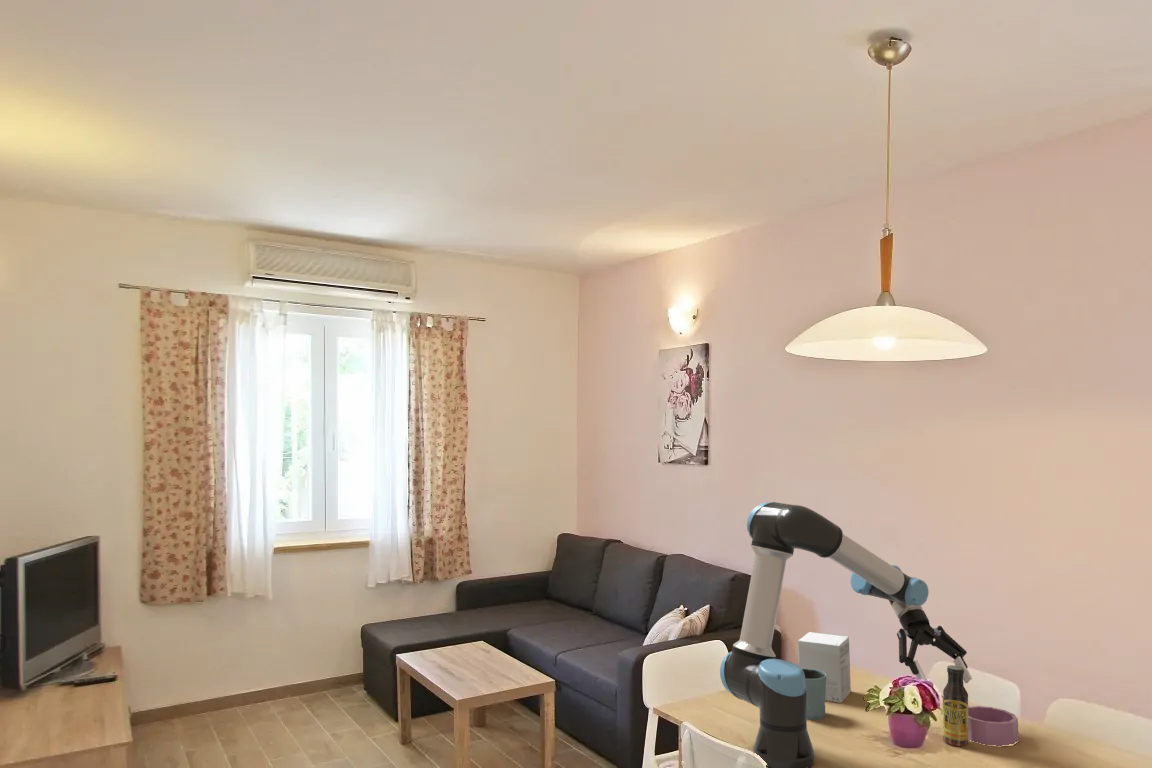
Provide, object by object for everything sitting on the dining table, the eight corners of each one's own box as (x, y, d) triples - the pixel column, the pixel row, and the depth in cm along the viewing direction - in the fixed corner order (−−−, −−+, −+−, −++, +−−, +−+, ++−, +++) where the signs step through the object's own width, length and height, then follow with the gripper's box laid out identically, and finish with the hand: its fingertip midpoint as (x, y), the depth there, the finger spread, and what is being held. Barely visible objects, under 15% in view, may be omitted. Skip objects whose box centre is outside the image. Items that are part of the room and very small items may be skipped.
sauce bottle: (942, 744, 211) (939, 668, 212) (943, 736, 217) (940, 662, 218) (969, 749, 208) (966, 671, 209) (970, 741, 214) (967, 665, 215)
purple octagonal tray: (1022, 749, 208) (1021, 725, 208) (965, 743, 212) (964, 720, 212) (1012, 730, 220) (1011, 708, 221) (958, 725, 225) (957, 704, 225)
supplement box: (851, 691, 255) (850, 636, 257) (841, 703, 244) (839, 645, 245) (810, 685, 262) (808, 631, 264) (798, 696, 251) (797, 640, 252)
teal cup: (823, 709, 239) (822, 668, 240) (831, 721, 229) (829, 678, 230) (789, 708, 240) (788, 668, 241) (795, 720, 230) (794, 678, 231)
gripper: (942, 619, 239) (980, 685, 223) (867, 624, 233) (900, 693, 218) (953, 604, 234) (993, 672, 218) (877, 610, 228) (912, 679, 213)
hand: (947, 682), depth 218 cm, fingers open, 13 cm apart
